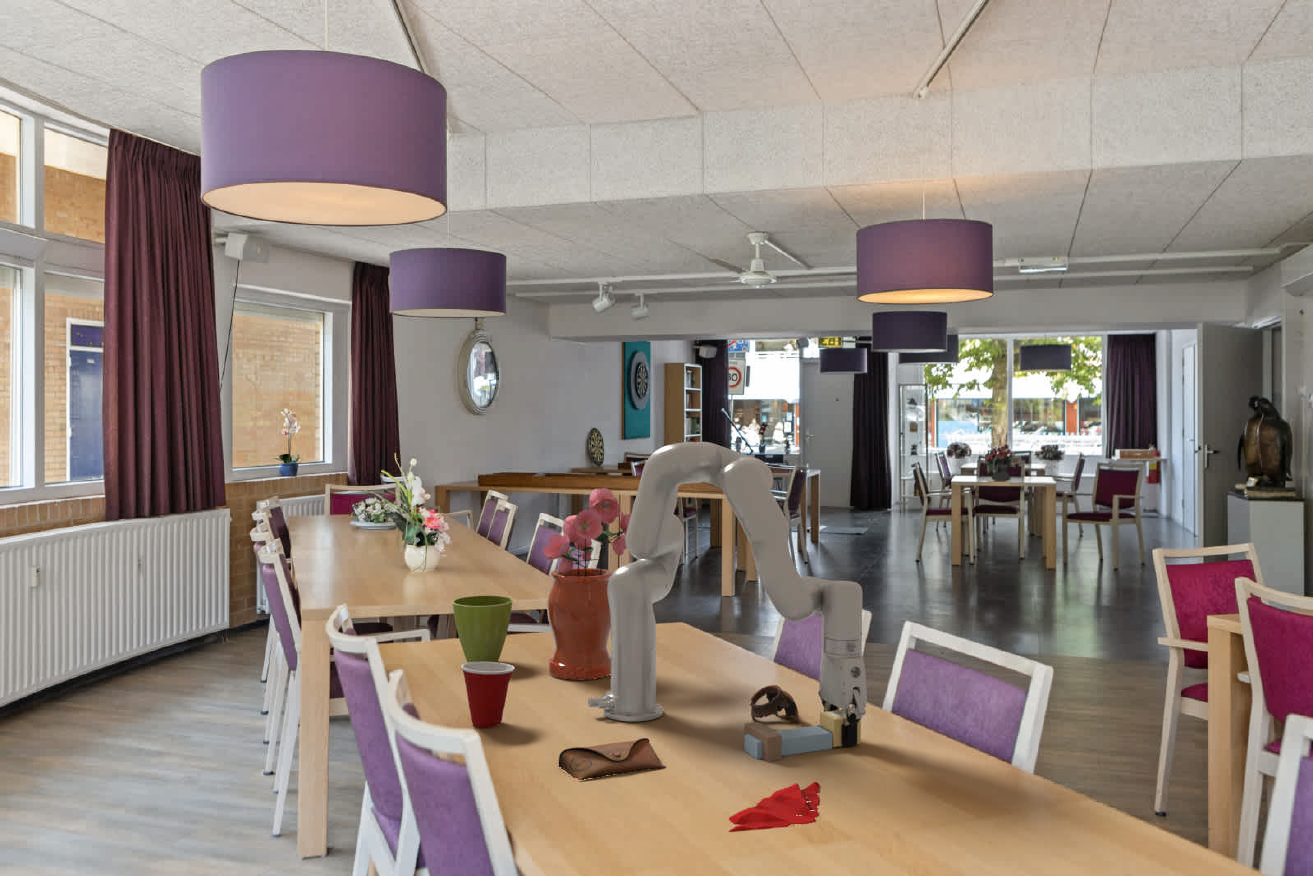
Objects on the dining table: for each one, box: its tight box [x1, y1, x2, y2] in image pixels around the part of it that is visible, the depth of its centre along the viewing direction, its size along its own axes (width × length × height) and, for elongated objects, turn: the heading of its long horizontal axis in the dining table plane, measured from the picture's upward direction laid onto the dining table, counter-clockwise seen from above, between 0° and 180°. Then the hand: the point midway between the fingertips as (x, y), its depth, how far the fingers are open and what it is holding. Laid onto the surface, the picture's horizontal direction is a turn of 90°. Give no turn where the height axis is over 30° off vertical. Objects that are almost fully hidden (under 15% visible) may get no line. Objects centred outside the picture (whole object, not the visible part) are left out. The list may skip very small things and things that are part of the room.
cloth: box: [728, 781, 820, 832], centre depth 160 cm, size 26×14×2 cm, turn 128°
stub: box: [819, 709, 862, 748], centre depth 193 cm, size 6×5×5 cm
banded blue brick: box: [743, 721, 833, 762], centre depth 189 cm, size 16×9×4 cm, turn 112°
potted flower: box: [542, 487, 632, 681], centre depth 245 cm, size 19×25×45 cm
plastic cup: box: [460, 662, 516, 729], centre depth 203 cm, size 11×11×12 cm
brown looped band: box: [749, 684, 801, 724], centre depth 208 cm, size 12×10×8 cm
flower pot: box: [452, 595, 513, 663], centre depth 253 cm, size 15×15×16 cm
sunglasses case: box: [558, 737, 667, 780], centre depth 179 cm, size 18×7×7 cm, turn 117°
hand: (840, 739), depth 193 cm, fingers closed on stub, 5 cm apart
